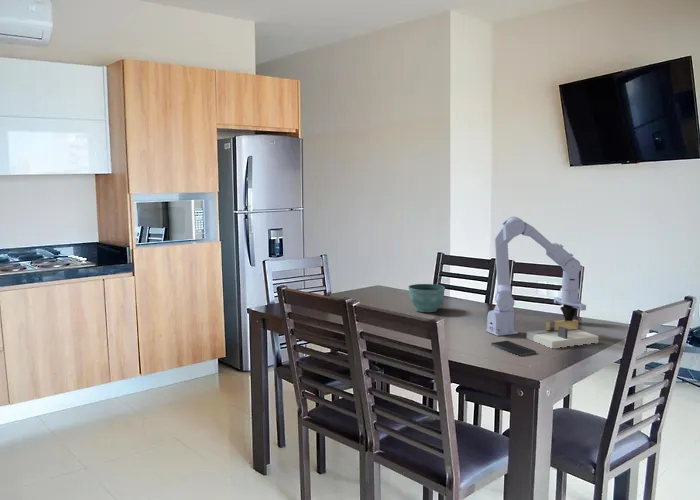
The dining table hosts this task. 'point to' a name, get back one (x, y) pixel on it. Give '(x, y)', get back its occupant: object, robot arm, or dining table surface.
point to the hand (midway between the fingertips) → (568, 325)
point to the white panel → (562, 337)
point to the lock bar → (561, 324)
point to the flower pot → (426, 296)
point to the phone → (513, 348)
